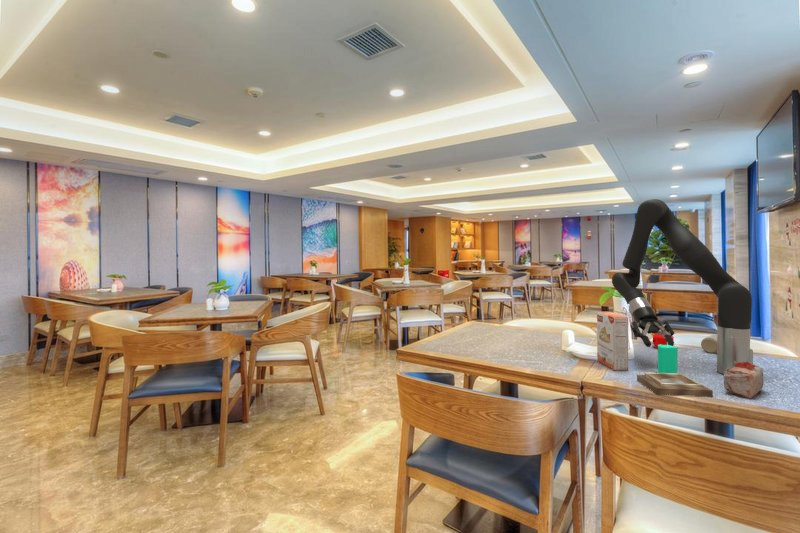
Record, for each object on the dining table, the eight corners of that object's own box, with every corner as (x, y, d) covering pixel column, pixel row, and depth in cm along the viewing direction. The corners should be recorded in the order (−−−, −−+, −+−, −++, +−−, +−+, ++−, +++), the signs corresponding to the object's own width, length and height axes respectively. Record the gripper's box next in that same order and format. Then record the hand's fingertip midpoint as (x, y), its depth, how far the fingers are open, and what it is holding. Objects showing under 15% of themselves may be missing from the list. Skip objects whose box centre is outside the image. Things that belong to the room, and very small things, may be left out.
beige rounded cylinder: (699, 351, 175) (699, 334, 175) (707, 349, 179) (708, 332, 179) (728, 357, 166) (729, 339, 166) (736, 354, 170) (737, 337, 170)
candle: (680, 377, 140) (680, 344, 140) (662, 376, 141) (662, 343, 141) (672, 372, 146) (672, 340, 145) (654, 371, 147) (654, 340, 147)
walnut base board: (687, 382, 134) (687, 373, 134) (712, 396, 120) (712, 386, 120) (637, 380, 137) (637, 371, 137) (656, 394, 123) (656, 384, 123)
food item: (754, 401, 117) (755, 368, 117) (721, 393, 123) (721, 363, 123) (765, 391, 125) (765, 361, 125) (733, 384, 132) (733, 356, 131)
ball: (653, 345, 188) (653, 330, 187) (673, 347, 183) (673, 331, 183) (652, 349, 181) (652, 332, 181) (673, 351, 176) (673, 334, 176)
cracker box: (596, 360, 162) (596, 311, 161) (610, 361, 162) (611, 311, 161) (612, 370, 148) (612, 316, 147) (628, 371, 148) (629, 316, 147)
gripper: (628, 305, 155) (646, 340, 144) (663, 305, 155) (684, 340, 144) (620, 316, 161) (637, 351, 149) (654, 316, 161) (674, 350, 150)
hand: (660, 345), depth 147 cm, fingers open, 8 cm apart
